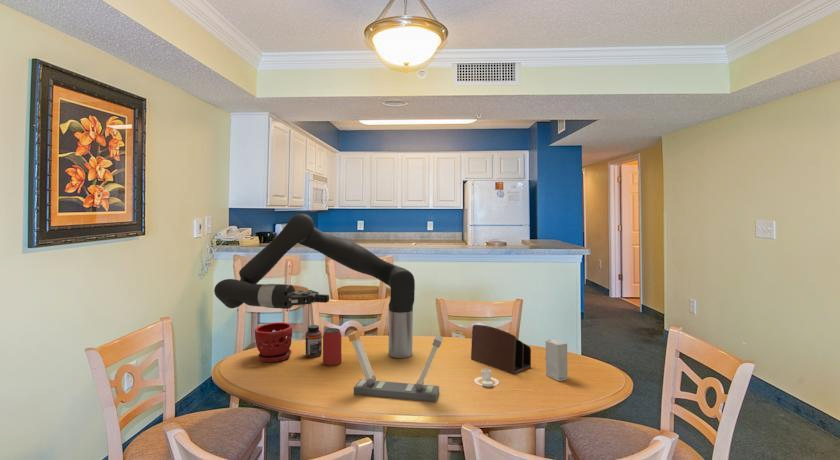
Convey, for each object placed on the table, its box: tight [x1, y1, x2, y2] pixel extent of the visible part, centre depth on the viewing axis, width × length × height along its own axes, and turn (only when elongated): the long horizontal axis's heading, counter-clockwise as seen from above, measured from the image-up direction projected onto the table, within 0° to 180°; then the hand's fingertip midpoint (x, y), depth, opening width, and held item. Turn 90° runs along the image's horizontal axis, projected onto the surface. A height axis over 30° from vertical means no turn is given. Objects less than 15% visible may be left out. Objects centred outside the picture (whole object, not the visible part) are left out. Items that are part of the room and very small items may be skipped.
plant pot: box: [254, 322, 293, 363], centre depth 156 cm, size 13×13×12 cm
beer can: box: [322, 327, 342, 367], centre depth 152 cm, size 7×7×12 cm
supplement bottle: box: [305, 324, 323, 359], centre depth 160 cm, size 6×6×11 cm
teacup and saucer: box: [473, 368, 500, 388], centre depth 136 cm, size 9×8×4 cm
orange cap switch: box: [347, 329, 377, 386], centre depth 129 cm, size 4×2×16 cm, turn 169°
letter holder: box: [470, 324, 532, 375], centre depth 153 cm, size 10×20×14 cm, turn 41°
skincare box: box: [545, 338, 568, 382], centre depth 140 cm, size 6×4×12 cm
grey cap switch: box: [415, 334, 444, 390], centre depth 125 cm, size 4×2×16 cm, turn 169°
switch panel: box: [353, 379, 440, 403], centre depth 127 cm, size 6×25×2 cm, turn 79°
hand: (328, 298), depth 130 cm, fingers closed
